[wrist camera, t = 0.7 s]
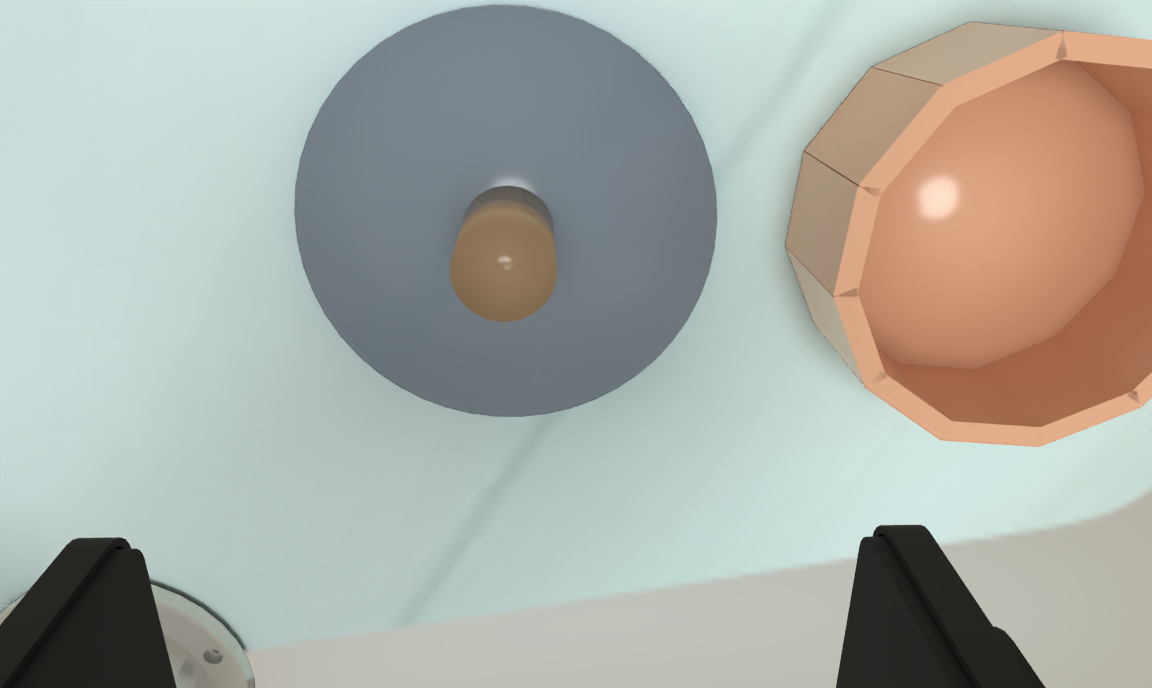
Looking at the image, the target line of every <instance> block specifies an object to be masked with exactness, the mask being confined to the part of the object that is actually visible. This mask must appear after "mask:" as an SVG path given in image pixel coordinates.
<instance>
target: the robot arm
mask: <svg viewBox="0 0 1152 688" xmlns="http://www.w3.org/2000/svg"><path fill="white" fill-rule="evenodd" d="M0 688H255V679H254V675H253V673H252V669H251V666H250V663H249V660H248V658H247V656H246V655H245V653H244V651H243V650H242V648H241V646H240V644H239V643H238V641H237V640H236V639H235V638H234V637H233V636H232V634H231V633H230V632H229V631H228V630H227V629H226V628H225V626H224V625H223V624H222V623H221V622H219V621H218V620H217V619H216V618H214V617H213V616H212V615H211V614H209V613H208V612H207V611H206V610H204V609H203V608H201V607H200V606H198V605H196V604H194V603H193V602H191V601H189V600H187V599H186V598H184V597H182V596H180V595H178V594H176V593H173V592H171V591H168V590H165V589H163V588H160V587H158V586H155V585H152V584H151V583H150V579H149V575H148V571H147V567H146V563H145V559H144V556H143V554H142V552H141V551H140V550H138V549H131V547H130V545H129V543H128V542H127V541H126V539H123V538H77V539H74V540H72V541H71V542H70V543H69V544H67V545H66V547H65V548H64V549H63V550H62V551H61V553H60V554H59V555H58V556H57V557H56V559H55V560H54V561H53V562H52V563H51V565H50V566H49V567H48V568H47V569H46V571H45V572H44V573H43V574H42V575H41V577H40V578H39V579H38V580H37V581H36V583H35V584H34V585H33V586H32V587H31V589H30V590H29V591H28V592H27V593H26V594H24V595H23V596H21V597H20V598H19V599H17V600H16V601H14V602H13V603H12V604H10V605H9V606H8V607H7V608H6V609H5V610H4V611H3V612H2V613H1V614H0ZM836 688H1045V687H1044V685H1043V684H1042V682H1041V681H1040V679H1039V678H1038V676H1037V675H1036V673H1035V672H1034V670H1033V669H1032V668H1031V666H1030V665H1029V663H1028V662H1027V660H1026V659H1025V657H1024V656H1023V654H1022V653H1021V652H1020V650H1019V649H1018V647H1017V646H1016V644H1015V643H1014V641H1013V640H1012V639H1011V638H1010V637H1009V636H1008V635H1007V633H1006V632H1005V631H1003V630H1001V629H999V628H997V627H993V626H992V624H991V623H990V621H989V620H988V618H987V617H986V616H985V614H984V613H983V611H982V610H981V608H980V607H979V605H978V603H977V602H976V600H975V599H974V597H973V596H972V595H971V593H970V592H969V590H968V589H967V587H966V586H965V584H964V583H963V581H962V580H961V578H960V577H959V575H958V574H957V572H956V571H955V569H954V568H953V566H952V565H951V563H950V562H949V560H948V559H947V557H946V556H945V554H944V553H943V551H942V550H941V548H940V547H939V545H938V544H937V542H936V541H935V539H934V538H933V536H932V535H931V533H930V532H929V531H928V530H927V528H926V527H925V526H922V525H880V526H878V527H877V528H876V529H875V531H874V534H873V537H864V538H863V539H862V540H861V543H860V547H859V553H858V559H857V565H856V571H855V578H854V583H853V589H852V595H851V601H850V608H849V613H848V619H847V625H846V631H845V637H844V643H843V649H842V655H841V661H840V667H839V673H838V679H837V685H836Z"/></svg>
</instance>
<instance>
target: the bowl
mask: <svg viewBox="0 0 1152 688" xmlns="http://www.w3.org/2000/svg"><path fill="white" fill-rule="evenodd" d="M804 151H806V152H804V153H803V158H802V163H801V168H800V173H799V178H798V183H797V188H796V193H795V198H794V203H793V208H792V213H791V218H790V223H789V228H788V233H787V238H786V243H785V245H786V246H785V247H786V249H787V252H788V255H789V257H790V260H791V263H792V266H793V268H794V271H795V274H796V276H797V279H798V282H799V285H800V287H801V290H802V293H803V295H804V298H805V301H806V303H807V306H808V309H809V312H810V314H811V317H812V320H813V322H814V324H815V326H816V327H817V328H818V329H819V331H820V332H821V333H822V334H823V336H824V337H825V338H826V339H827V341H828V342H829V343H830V344H831V346H832V347H833V348H834V349H835V351H836V352H837V353H838V354H839V355H840V357H841V358H842V359H843V360H844V362H845V363H846V364H847V365H848V367H849V368H850V369H851V370H852V372H853V373H854V374H855V375H856V377H857V378H858V379H859V380H860V382H861V383H862V384H863V385H864V387H865V388H866V389H868V390H869V391H871V392H872V393H873V394H875V395H876V396H878V397H879V398H881V399H882V400H883V401H885V402H886V403H888V404H889V405H891V406H892V407H893V408H895V409H896V410H898V411H899V412H901V413H902V414H903V415H905V416H906V417H908V418H909V419H911V420H912V421H913V422H915V423H916V424H918V425H919V426H921V427H922V428H923V429H925V430H926V431H928V432H929V433H931V434H932V435H933V436H935V437H936V438H938V439H939V440H942V441H957V442H972V443H987V444H1002V445H1017V446H1032V447H1039V446H1043V445H1046V444H1048V443H1051V442H1053V441H1056V440H1058V439H1061V438H1064V437H1066V436H1069V435H1071V434H1074V433H1076V432H1079V431H1082V430H1084V429H1087V428H1089V427H1092V426H1094V425H1097V424H1100V423H1102V422H1105V421H1107V420H1110V419H1112V418H1115V417H1118V416H1120V415H1123V414H1125V413H1128V412H1130V411H1133V410H1136V409H1138V408H1141V407H1140V406H1143V405H1144V404H1145V403H1146V402H1147V401H1148V400H1150V399H1151V398H1152V40H1147V39H1137V38H1128V37H1118V36H1109V35H1099V34H1090V33H1081V32H1071V31H1061V30H1051V29H1040V28H1030V27H1019V26H1008V25H998V24H987V23H977V22H968V23H966V24H964V25H961V26H959V27H957V28H955V29H953V30H950V31H948V32H946V33H944V34H942V35H940V36H937V37H935V38H933V39H931V40H929V41H926V42H924V43H922V44H920V45H918V46H916V47H913V48H911V49H909V50H907V51H905V52H903V53H900V54H898V55H896V56H894V57H892V58H889V59H887V60H885V61H883V62H881V63H879V64H876V65H874V66H872V68H870V69H869V70H868V71H867V73H866V74H865V75H864V76H863V78H862V79H861V80H860V81H859V83H858V84H857V85H856V86H855V88H854V89H853V90H852V91H851V93H850V94H849V95H848V96H847V98H846V99H845V100H844V101H843V103H842V104H841V105H840V106H839V108H838V109H837V110H836V111H835V113H834V114H833V115H832V116H831V118H830V119H829V120H828V121H827V123H826V124H825V125H824V126H823V128H822V129H821V130H820V131H819V133H818V134H817V135H816V136H815V138H814V139H813V140H812V141H811V143H810V144H809V145H808V146H807V148H806V149H805V150H804Z"/></svg>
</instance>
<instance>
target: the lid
mask: <svg viewBox="0 0 1152 688" xmlns="http://www.w3.org/2000/svg"><path fill="white" fill-rule="evenodd" d="M295 223H296V233H297V242H298V246H299V250H300V254H301V258H302V263H303V267H304V269H305V272H306V275H307V277H308V280H309V282H310V285H311V288H312V290H313V293H314V294H315V296H316V298H317V300H318V302H319V304H320V306H321V307H322V309H323V311H324V313H325V315H326V316H327V318H328V319H329V321H330V322H331V323H332V325H333V326H334V328H335V329H336V330H337V332H338V333H339V335H340V336H341V337H342V338H343V339H344V340H345V342H346V343H347V344H348V345H349V346H350V347H351V348H352V349H353V350H354V351H355V352H356V354H357V355H358V356H359V357H361V358H362V359H363V360H364V361H365V362H366V363H368V364H369V365H370V366H371V367H372V368H373V369H375V370H376V371H377V372H378V373H380V374H381V375H383V376H384V377H386V378H387V379H389V380H390V381H392V382H393V383H395V384H396V385H398V386H399V387H401V388H403V389H405V390H407V391H409V392H411V393H413V394H415V395H417V396H418V397H420V398H422V399H425V400H428V401H431V402H433V403H436V404H439V405H441V406H444V407H447V408H451V409H455V410H459V411H463V412H467V413H472V414H480V415H488V416H506V417H522V416H531V415H540V414H548V413H552V412H556V411H561V410H565V409H570V408H573V407H575V406H578V405H581V404H584V403H587V402H589V401H592V400H595V399H597V398H599V397H601V396H603V395H605V394H607V393H609V392H611V391H613V390H615V389H617V388H618V387H620V386H621V385H623V384H624V383H626V382H627V381H629V380H630V379H632V378H633V377H635V376H636V375H638V374H639V373H640V372H641V371H642V370H643V369H645V368H646V367H647V366H648V365H649V364H651V363H652V362H653V361H654V360H655V359H656V358H657V357H658V356H659V355H660V354H661V353H662V352H663V351H664V350H665V348H666V347H667V346H668V345H669V344H670V343H671V342H672V341H673V340H674V338H675V337H676V335H677V334H678V332H679V331H680V330H681V328H682V327H683V325H684V324H685V323H686V321H687V320H688V318H689V316H690V314H691V312H692V310H693V308H694V307H695V305H696V303H697V301H698V299H699V297H700V294H701V292H702V289H703V287H704V284H705V281H706V279H707V276H708V273H709V269H710V265H711V260H712V256H713V252H714V247H715V237H716V227H717V207H716V192H715V186H714V180H713V174H712V168H711V165H710V162H709V159H708V155H707V152H706V149H705V146H704V143H703V140H702V138H701V136H700V134H699V132H698V130H697V127H696V125H695V123H694V121H693V119H692V117H691V115H690V113H689V112H688V110H687V109H686V107H685V106H684V104H683V103H682V101H681V100H680V98H679V97H678V95H677V93H676V92H675V91H674V90H673V88H672V87H671V86H670V85H669V84H668V83H667V81H666V80H665V79H664V78H663V77H662V76H661V75H660V73H659V72H658V71H657V70H656V69H655V68H654V67H653V66H652V65H650V64H649V63H648V62H647V61H646V60H645V59H644V58H642V57H641V56H640V55H639V54H638V53H637V52H636V51H635V50H633V49H632V48H630V47H629V46H627V45H626V44H624V43H623V42H621V41H620V40H618V39H617V38H615V37H614V36H612V35H611V34H609V33H608V32H605V31H603V30H601V29H599V28H597V27H595V26H593V25H591V24H589V23H587V22H585V21H583V20H580V19H577V18H574V17H571V16H568V15H565V14H562V13H558V12H555V11H551V10H546V9H540V8H534V7H528V6H517V5H488V6H478V7H469V8H463V9H459V10H455V11H451V12H447V13H443V14H439V15H436V16H433V17H430V18H428V19H426V20H423V21H421V22H418V23H416V24H414V25H411V26H409V27H406V28H405V29H403V30H401V31H400V32H398V33H396V34H394V35H393V36H391V37H389V38H388V39H386V40H384V41H383V42H381V43H380V44H378V45H377V46H376V47H375V48H373V49H372V50H371V51H370V52H369V53H367V54H366V55H365V56H364V57H362V58H361V59H360V60H359V61H357V63H356V64H355V65H354V66H353V67H352V68H351V69H350V70H349V71H348V72H347V73H346V74H345V75H344V77H343V78H342V79H341V80H340V81H339V82H338V83H337V85H336V86H335V88H334V89H333V90H332V92H331V93H330V95H329V96H328V98H327V99H326V101H325V102H324V104H323V105H322V107H321V109H320V111H319V113H318V115H317V117H316V119H315V121H314V123H313V125H312V127H311V129H310V131H309V133H308V137H307V140H306V143H305V146H304V149H303V152H302V155H301V158H300V163H299V169H298V174H297V180H296V186H295Z"/></svg>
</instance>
